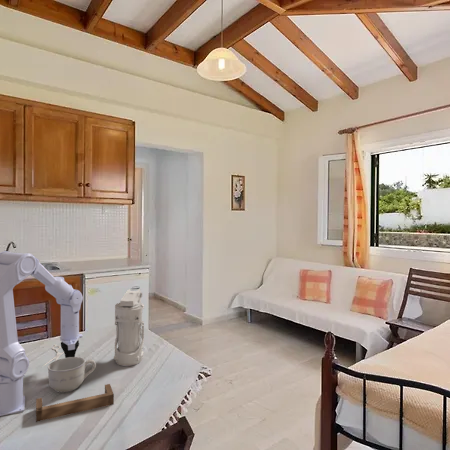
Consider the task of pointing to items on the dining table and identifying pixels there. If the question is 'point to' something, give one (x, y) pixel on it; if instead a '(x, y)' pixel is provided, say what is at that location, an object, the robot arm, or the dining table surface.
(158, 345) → the dining table surface
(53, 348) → the scissors
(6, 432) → the dining table surface
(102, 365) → the dining table surface
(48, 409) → the dock
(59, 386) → the teacup
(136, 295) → the lantern
